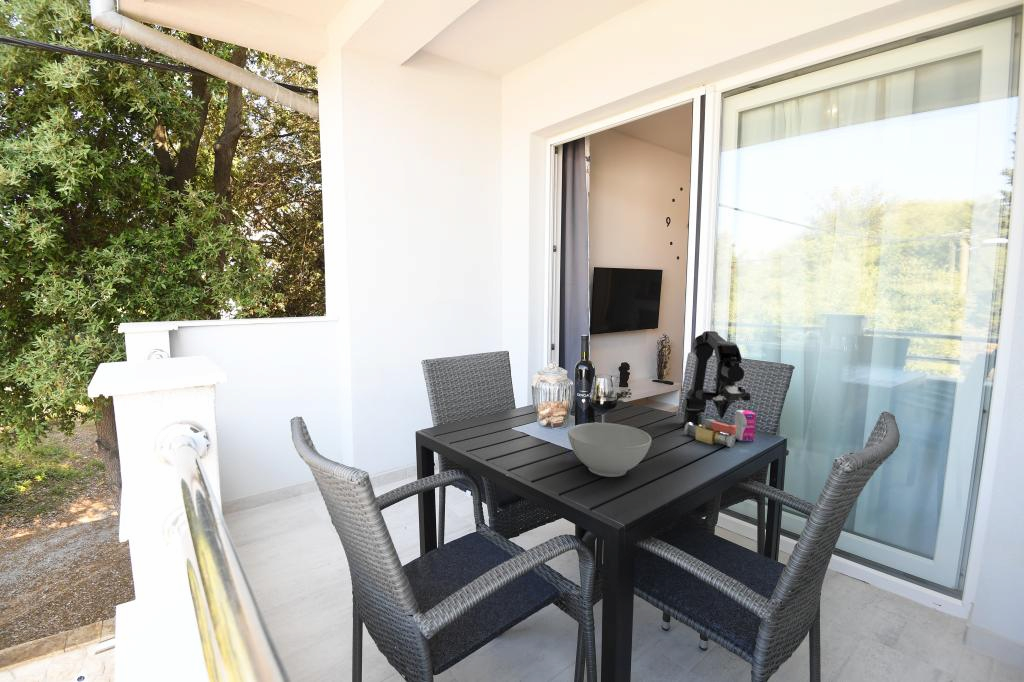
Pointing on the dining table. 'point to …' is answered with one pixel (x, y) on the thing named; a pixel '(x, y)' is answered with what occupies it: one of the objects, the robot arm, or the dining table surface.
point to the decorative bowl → (609, 447)
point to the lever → (720, 426)
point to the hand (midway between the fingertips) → (721, 417)
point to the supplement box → (745, 425)
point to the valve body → (709, 434)
